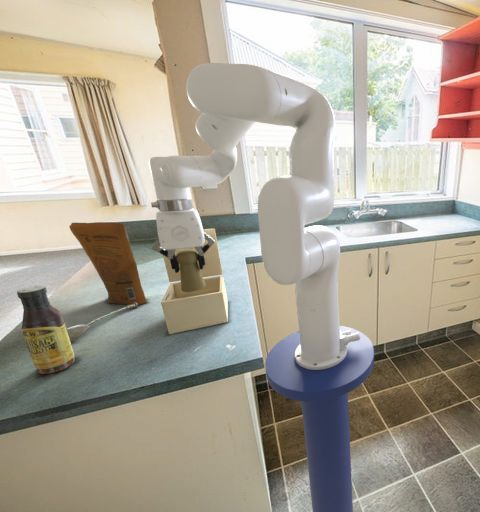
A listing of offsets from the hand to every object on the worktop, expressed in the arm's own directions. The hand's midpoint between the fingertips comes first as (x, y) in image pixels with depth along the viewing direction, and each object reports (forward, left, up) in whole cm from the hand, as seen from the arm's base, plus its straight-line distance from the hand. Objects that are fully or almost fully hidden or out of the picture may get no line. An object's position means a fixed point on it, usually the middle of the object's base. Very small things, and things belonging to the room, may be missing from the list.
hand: (189, 268), depth 84 cm
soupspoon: (+26, -11, -17) cm, 33 cm away
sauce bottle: (+28, +9, -17) cm, 34 cm away
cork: (0, 0, -6) cm, 6 cm away
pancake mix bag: (+24, -26, -17) cm, 39 cm away
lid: (0, -9, +1) cm, 9 cm away
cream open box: (0, -3, -17) cm, 17 cm away
